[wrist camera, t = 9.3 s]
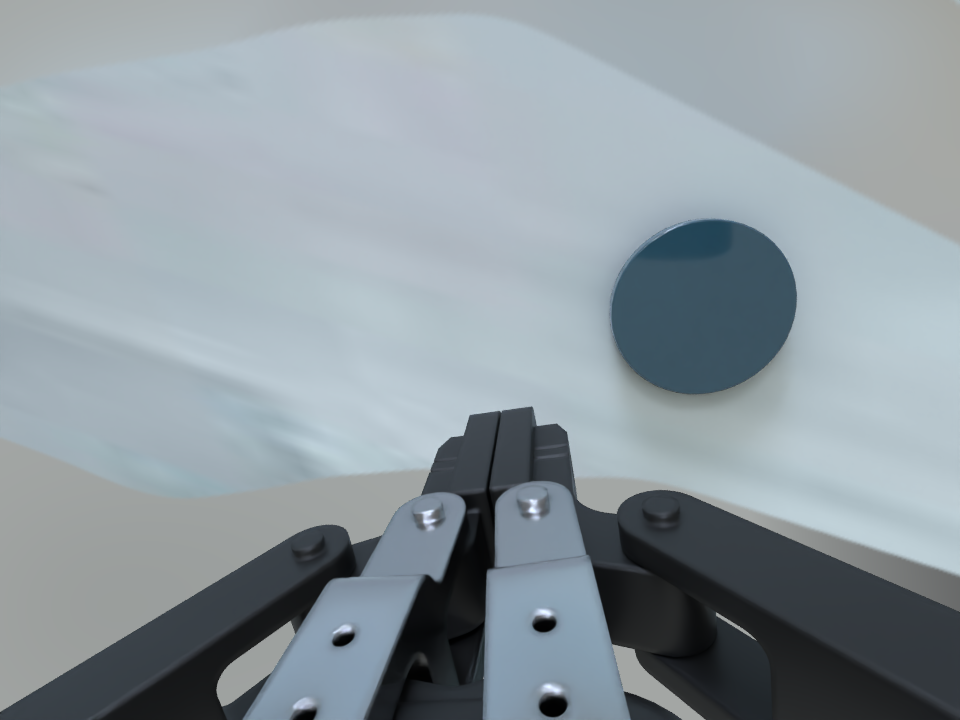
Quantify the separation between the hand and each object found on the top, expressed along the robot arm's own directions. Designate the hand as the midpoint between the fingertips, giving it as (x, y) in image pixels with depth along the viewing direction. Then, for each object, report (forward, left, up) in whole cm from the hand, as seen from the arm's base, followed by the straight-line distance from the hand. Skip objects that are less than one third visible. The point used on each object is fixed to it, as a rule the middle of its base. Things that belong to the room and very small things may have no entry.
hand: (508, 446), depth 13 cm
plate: (-5, +5, -11) cm, 13 cm away
